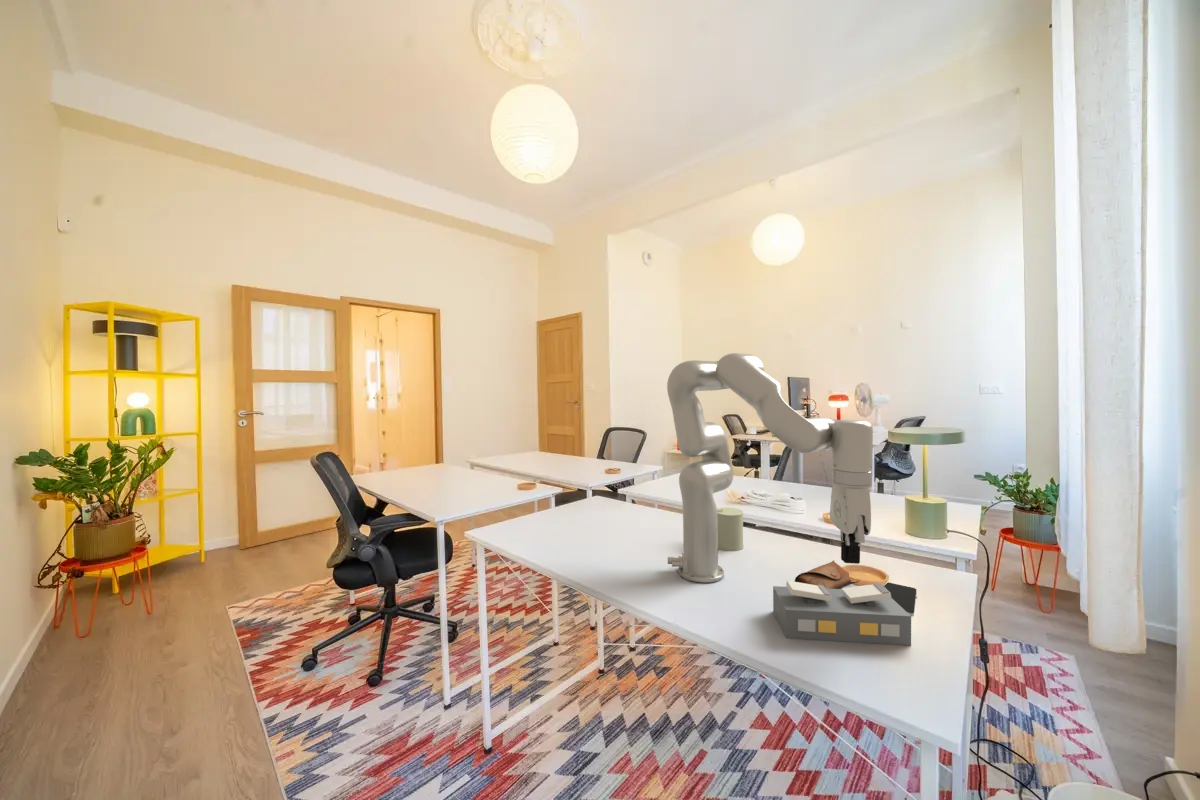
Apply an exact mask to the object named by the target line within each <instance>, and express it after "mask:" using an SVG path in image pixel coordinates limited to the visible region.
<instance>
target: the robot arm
mask: <svg viewBox="0 0 1200 800" xmlns="http://www.w3.org/2000/svg"><path fill="white" fill-rule="evenodd" d="M727 389H729V390H731V391H732V392H734V393H735V394H736V395H737V396H739V397H740V398H741V399H742V400H744V402H746V403H747V404H748V405H749V406H751V408H752V409H754V410H755V411H756V414H757V416H758V417H759V420H760V421H761V423H762V424H763V425H764V427H765V428H766V429H767V430H768V432H770V433H771V435H773V436H774V437H776V439H778V440H779V441H780V442H781V443H783V444H784V445H785V446H787V447H788V448H789V449H791V450H792V451H795V452H796V453H800V454H811V453H814V452H819V451H824V450H831V484H832V486H831V493H830V494H831V495H830V505H829V506H830V508H829V520H830V523H831V524H832V525H834V526H835V527H836V528H837V529H838V530H839V532H840V541H841V542H840V545H841V546H840V559H841V561H842V562H843V563H845V564H854V565H855V564H856V565H857V564H860V563H861V546H862V543H864V544H865V542H866V539H865V536H869V535H870V534H871V530H872V507H871V506H872V505H871V493H870V488H872V487H873V453H874V451H873V448H874V447H873V445H874V444H873V439H874V437H873V436H874V431H873V425H872V424H871V423H870V422H868V421H866V420H859V419H842V420H841V419H835V418H831V417H830V418H829V417H824V416H815V417H807V418H806V417H804V416H803V415H802V414H800V413H799V412H798V411H796V410H794V408H792V407H791V406H790V405H789V404H788V403H787V402H786V401H785V399H783V398H782V395H781V393H782V384H780V382H779V381H777V380H776V379H774V378H773V377H772V376H770V375H769V374H768V373H766V372H765V367H764V364H763V362H762V361H761V359H760V358H759V357H757V356H756V355H753V354H748V353H738V352H737V353H734V352H733V353H728V354H725V355H724V356H722V357H720V358H719V359H718V360H715V361H714V360H713V361H712V360H711V361H710V360H686V361H683V362H680V363H679V364H677V365H676V366H674V367H673V369H672V370H671V372H670V374H669V376H668V379H667V383H666V390H667V396H668V399H669V402H670V403H669V404H670V406H671V411H672V416H673V422H674V428H675V429H674V430H675V436H676V440H677V444H678V449H679V451H680V453H681V454H682V455H683V456H685V457H687V458H697V457H698V458H699V457H701V460H699V461H694V462H691V463H689V464H687V465H685V467H683V468H682V469H681V471H680V473H679V477H678V484H679V489H680V495H681V502H682V504H681V505H682V531H683V532H682V533H683V534H682V536H683V538H682V539H683V544H682V545H683V549H682V550H683V552H682V553H681V555H680V556H678V557H675V556H667V565H671V567H673V568H674V567H677V570H678V571H677V572H678V575H679V576H680V577H681V578H684V579H685V580H687V581H691V582H695V583H714V582H718V581H720V580H722V579H723V578H724V577H725V571H724V569H723V567H722V566H720V565H719V548H718V515H717V509H718V508H717V504H716V501H715V498H714V494H715V493H718V492H721V491H724V490H727V489H728V488H729V487H731V485H732V483H733V479H734V469H733V463H732V458H731V451H730V447H729V441H728V437H727V435H726V433H725V431H724V429H723V428H722V426H720V425H719V424H718V423H716V422H713V421H706V419H705V416H704V415H705V414H704V409H703V406H702V404H701V401H700V400H699V398H698V396H697V395H696V392H701V391H702V392H704V391H707V392H708V391H711V392H712V391H721V390H727Z"/></svg>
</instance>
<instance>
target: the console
mask: <svg viewBox="0 0 1200 800" xmlns="http://www.w3.org/2000/svg"><path fill="white" fill-rule="evenodd" d="M827 591H828V592H829V593H830V594H831V596H832V598H831V601H826V600H820V599H814V598H808V597H802V596H796V595H792V594H791V593H790V591H789V589H788V588H787V586H779V585H772V593H773V594H772V603H773V605H772V608H773V614H774V616H775V618H776V620H777V622H778V624H779V626H780V629H781V630H782V633H783V634H784V636H785V638H786V639H796V640H798V639H799V640H812V641H815V640H817V641H830V642H844V643H845V642H846V643H847V642H848V643H860V644H861V643H863V644H864V643H865V644H880V645H894V646H895V645H896V646H909V647H910V646H912V616H910V615H909V614H908V613H907V612H906V611H905V610H904V609H903V608H902V607H901V606H900V605H899V604H898V603H896V602H895V601H894V600H893V599H892V598H890V599H882V600H875V601H867V602H859V603H852V604H851V603H850V601H849V600H848V599H847V598H846V597H845V596H844V594H843V592H842V588H841V589H827Z"/></svg>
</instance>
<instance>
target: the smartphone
mask: <svg viewBox="0 0 1200 800" xmlns="http://www.w3.org/2000/svg"><path fill="white" fill-rule="evenodd" d="M887 582H888V581H887ZM884 587H885V588H886V589H887V590H888V591H889V592H890V594H891V598H892V599H893V600H894V601H895V602H896V603H898V604H899V605H900V606H901V607H902V608H903V609H904V610H905V611H906V612H907V613H908V614H909V615H910V616H911V617H914V616H915V609H916V602H917V601H916V599H918V598H917V597H918V592H917V588H915V587H911V586H907V585H902V584H897V583H894V582H893V583H892V582H888V583H887V584H886V585H885V586H884Z"/></svg>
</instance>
